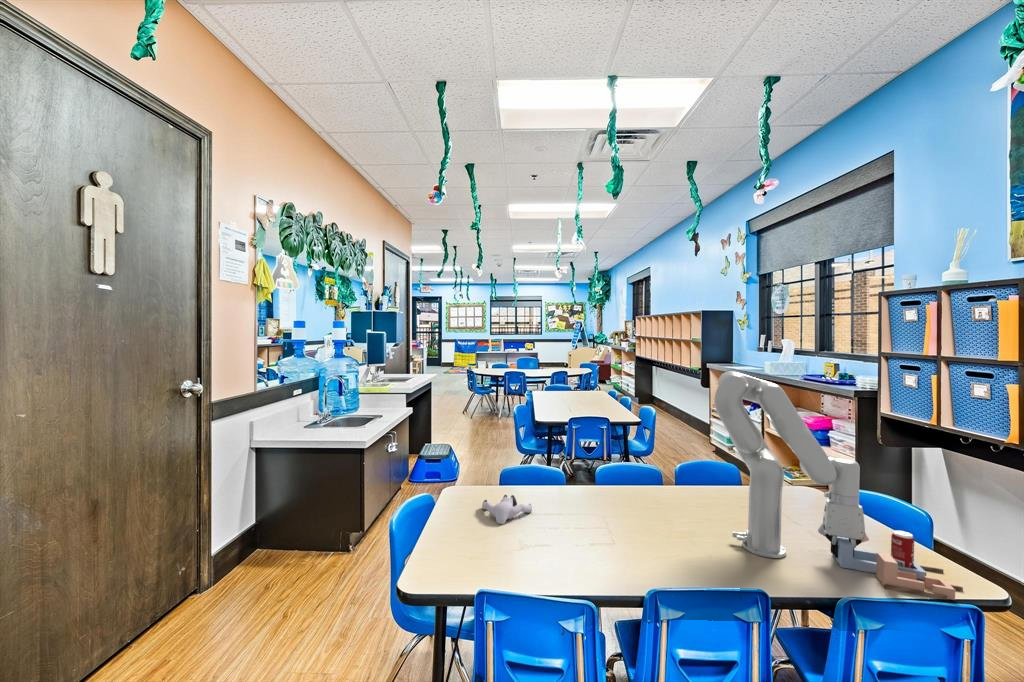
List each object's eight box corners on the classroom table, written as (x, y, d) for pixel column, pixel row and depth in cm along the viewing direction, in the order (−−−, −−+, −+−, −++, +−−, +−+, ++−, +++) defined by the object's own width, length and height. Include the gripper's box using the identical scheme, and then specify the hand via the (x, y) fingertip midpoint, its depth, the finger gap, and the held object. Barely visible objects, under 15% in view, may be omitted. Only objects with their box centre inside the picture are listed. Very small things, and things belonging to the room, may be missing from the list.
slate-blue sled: (840, 566, 137) (841, 544, 137) (832, 553, 146) (832, 532, 146) (926, 582, 129) (926, 558, 129) (911, 567, 138) (912, 544, 138)
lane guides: (885, 588, 126) (885, 584, 126) (862, 558, 144) (862, 555, 144) (978, 606, 118) (979, 602, 118) (942, 572, 136) (942, 569, 136)
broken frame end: (933, 596, 123) (933, 585, 123) (923, 585, 128) (923, 575, 128) (955, 600, 121) (955, 589, 121) (944, 589, 126) (944, 579, 126)
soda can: (900, 568, 138) (901, 529, 138) (918, 577, 133) (919, 536, 133) (885, 568, 137) (886, 529, 137) (903, 577, 132) (904, 537, 132)
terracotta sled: (883, 585, 127) (884, 561, 127) (876, 575, 132) (876, 552, 132) (924, 593, 123) (925, 567, 123) (914, 582, 129) (915, 558, 129)
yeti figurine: (489, 507, 185) (470, 525, 166) (488, 491, 185) (469, 507, 166) (535, 509, 179) (521, 528, 160) (534, 492, 179) (520, 509, 160)
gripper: (815, 498, 141) (814, 557, 141) (880, 507, 134) (878, 568, 134) (810, 491, 147) (808, 547, 148) (871, 499, 141) (869, 557, 141)
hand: (842, 556), depth 141 cm, fingers closed on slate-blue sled, 3 cm apart
